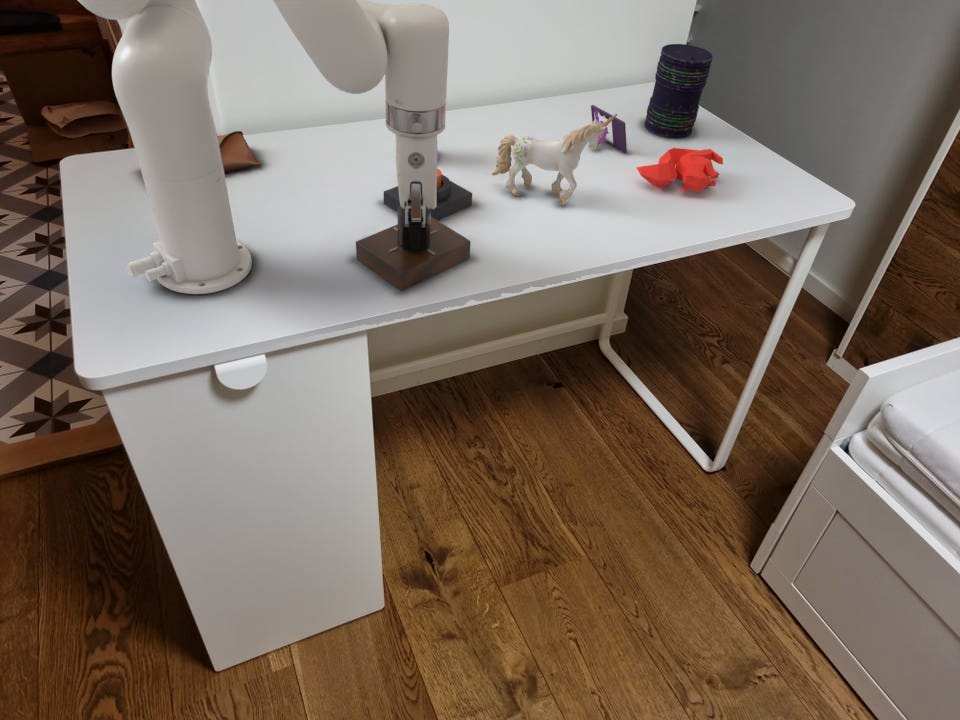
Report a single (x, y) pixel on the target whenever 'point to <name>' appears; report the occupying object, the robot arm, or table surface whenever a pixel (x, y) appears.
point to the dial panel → (412, 255)
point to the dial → (402, 221)
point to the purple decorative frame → (617, 130)
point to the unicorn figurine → (548, 157)
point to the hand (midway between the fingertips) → (414, 237)
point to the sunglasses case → (235, 152)
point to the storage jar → (677, 90)
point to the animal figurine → (683, 169)
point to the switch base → (447, 198)
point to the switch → (439, 178)
